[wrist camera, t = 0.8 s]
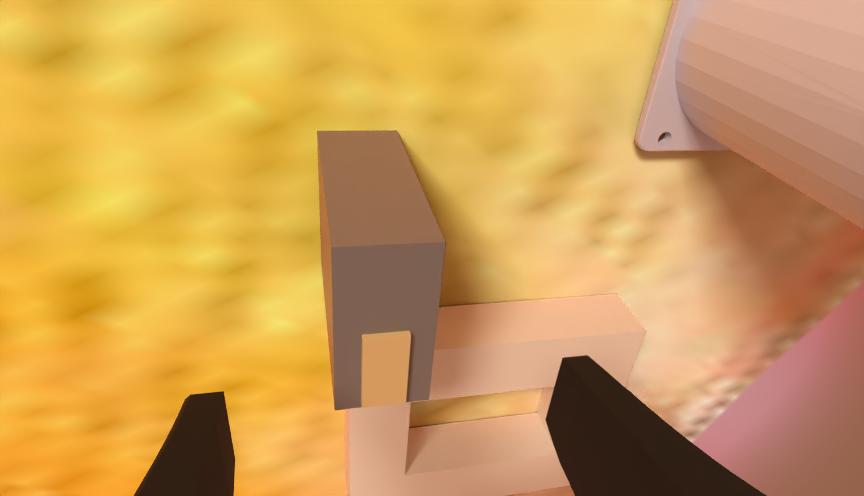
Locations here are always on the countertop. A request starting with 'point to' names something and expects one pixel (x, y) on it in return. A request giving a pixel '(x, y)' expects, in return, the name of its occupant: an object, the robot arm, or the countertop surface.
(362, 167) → the key peg
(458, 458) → the socket block
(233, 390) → the countertop surface
